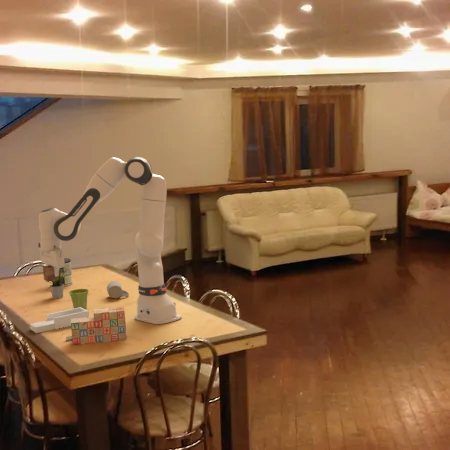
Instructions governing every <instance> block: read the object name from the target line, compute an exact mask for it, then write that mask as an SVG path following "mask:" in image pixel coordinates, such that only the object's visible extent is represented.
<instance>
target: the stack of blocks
mask: <svg viewBox="0 0 450 450" xmlns="http://www.w3.org/2000/svg"><path fill="white" fill-rule="evenodd" d="M125 312H126V311H125V307H124V306H122V307H115V306H114V307H109V308H108V307H107V308H97V309H93V316H89V317H88V318H76V319H71V326H70V329H71V336H72V340H71V341H72V342H71V343H72V346H75V344H78V345H86V344H85V343H89V344H97V343H96V342H99V343H107V342H118V341H126V340H127V333H126V332H127V329H126V323H127V322H126V315H125V314H126V313H125Z"/></svg>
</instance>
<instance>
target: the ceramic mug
mask: <svg viewBox="0 0 450 450" xmlns="http://www.w3.org/2000/svg"><path fill="white" fill-rule="evenodd" d="M106 292H107V294H108V296H109V297H110V298H112V299H115V300H117V299H119V298H121V296H122V297H127V296H128V297H129V294H130V293H129V292H127V291H126V290H124V289H123V287H122V284H121V283H120V282H119V281H114V280H113V281H111V282H108V284H107V287H106Z"/></svg>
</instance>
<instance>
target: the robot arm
mask: <svg viewBox="0 0 450 450" xmlns="http://www.w3.org/2000/svg"><path fill="white" fill-rule="evenodd" d="M125 179H128V180H130V181H131V182H132V183H136V184H138V185H140V186H141V196H140V198H141V199H140V209H139V218H138V219H139V222H138V223H139V224H138V226H139V228H138V229H139V230H138V232H137V233H136V235H135V236H134V245H135V248H134V249H135V255H136V262H137V272H138V273H137V274H138V286H137V287H138V288H137V290H138V295H139V296H138V299H136V315H135V316H134V320H137V321H142V322H144V323H149V324H153V325H162V324H167V323H172V322H176V321H179V320H181V319H182V315H181V314H179V313H178V312H177V310H176V302H175V301H173V300H172V298H171V297H170V296H169V295H168V294H167V291H168V290H167V287H166V284H165V283H164V267H163V266H164V265H163V261H162V255H161V253H162V251H163V250H164V241H165V240H164V239H165V235H164V234H165V231H164V230H165V212H166V205H167V204H166V203H167V194H168V193H167V191H168V190H167V189H168V187H167V180H166V179H165V178H164V177H163V176H162V175H159V174H155V173H153V172H152V165H151V163H150V162H149V161H148V159H146V158H144V157H141V156H135V157H132V158H130V159H128V160H127V161H123V160H122V159H120V158H119V157H115V156H112V157H110V158H109V159H107V160H106V161H104V163H103V164H102V165H101V166H100V167H99V168H98V169H97V171H96V172H95V173H93V175H92V177H91V178H90V180H89V182H88V184H87V186H86V188H85V190H84V192H83V194H82V196H81V197H80V199H79V200H78V201H77V203H76V204H75V205H74V206H73V208H71V210H70V211H69V212H68V213H66V212H64V211H61V210H60V209H57V208H56V207H50V208H45V209H44V210H43V209H42V210H41V211H40V212H39V215H38V230H39V232H40V238H39V242H38V243H37V247H38V248H39V256H40V257H39V259H40V261H41V263H43V264H45V265H46V266H52V267H54V276H55V277H57V276H59V269H60V268H63V267H64V266H65V262H64V258H65V256H64V253H63V251H62V250H61V249H62V241H64V242H68V241H71V240H73V239H74V238H75V237H76V236H77V234H78V233H79V232H80V231H81V229H82V221H83V220H84V219H85V217H87V215H88V214H89V213H90V211H91V210H93V208H94V207H95V206H97V205H98V204H99V203H101V202H103V201H104V200H105V199H107V198H108V197H109V196H110V195H111V194H112V193H113V192H114V191H115V190H116V188H118V186H119V185H120V183H121V182H122V181H123V180H125Z"/></svg>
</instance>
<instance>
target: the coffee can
mask: <svg viewBox="0 0 450 450" xmlns="http://www.w3.org/2000/svg"><path fill="white" fill-rule="evenodd" d="M71 261H72V259H71V258H67V257H66V258H65V257H64V262H65V266H64V267H63V268H65V267H66V268H65V269H64V270H63V271H62V273H61V276H60V277H62V278H63V277H64V276H65V275H66V276H65V277H64V278H63V280H64V281H63V280H62V279H61V280H62V282H61V281H60V282H61V284H64V287H69V286H71V285H73V284H74V283H73V277H72V276H73V273H72V262H71ZM63 268H60V269H59V270H60V272H61V270H62V269H63ZM68 269H70V270H68ZM65 270H67V271H66V272H65V273H64V274H63V272H64V271H65ZM62 274H63V276H62ZM65 278H66V279H67V280H66V279H65Z"/></svg>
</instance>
